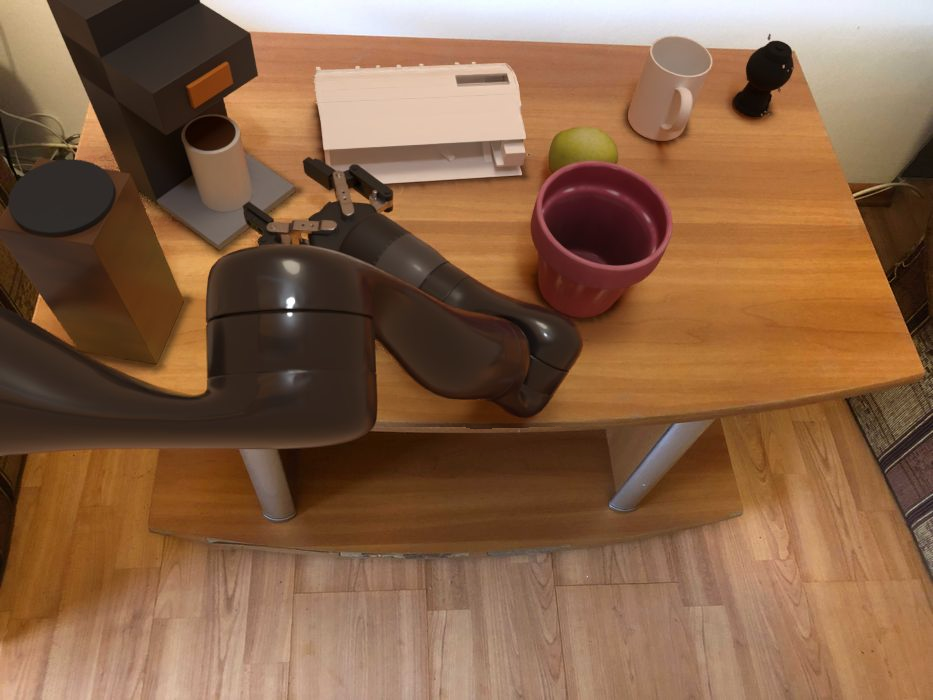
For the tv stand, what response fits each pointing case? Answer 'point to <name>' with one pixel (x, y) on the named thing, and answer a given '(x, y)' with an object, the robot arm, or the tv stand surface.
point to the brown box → (104, 278)
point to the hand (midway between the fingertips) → (276, 186)
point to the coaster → (62, 198)
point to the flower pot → (597, 235)
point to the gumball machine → (764, 78)
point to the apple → (581, 147)
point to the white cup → (218, 162)
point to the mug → (669, 87)
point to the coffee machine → (164, 96)
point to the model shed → (422, 121)
